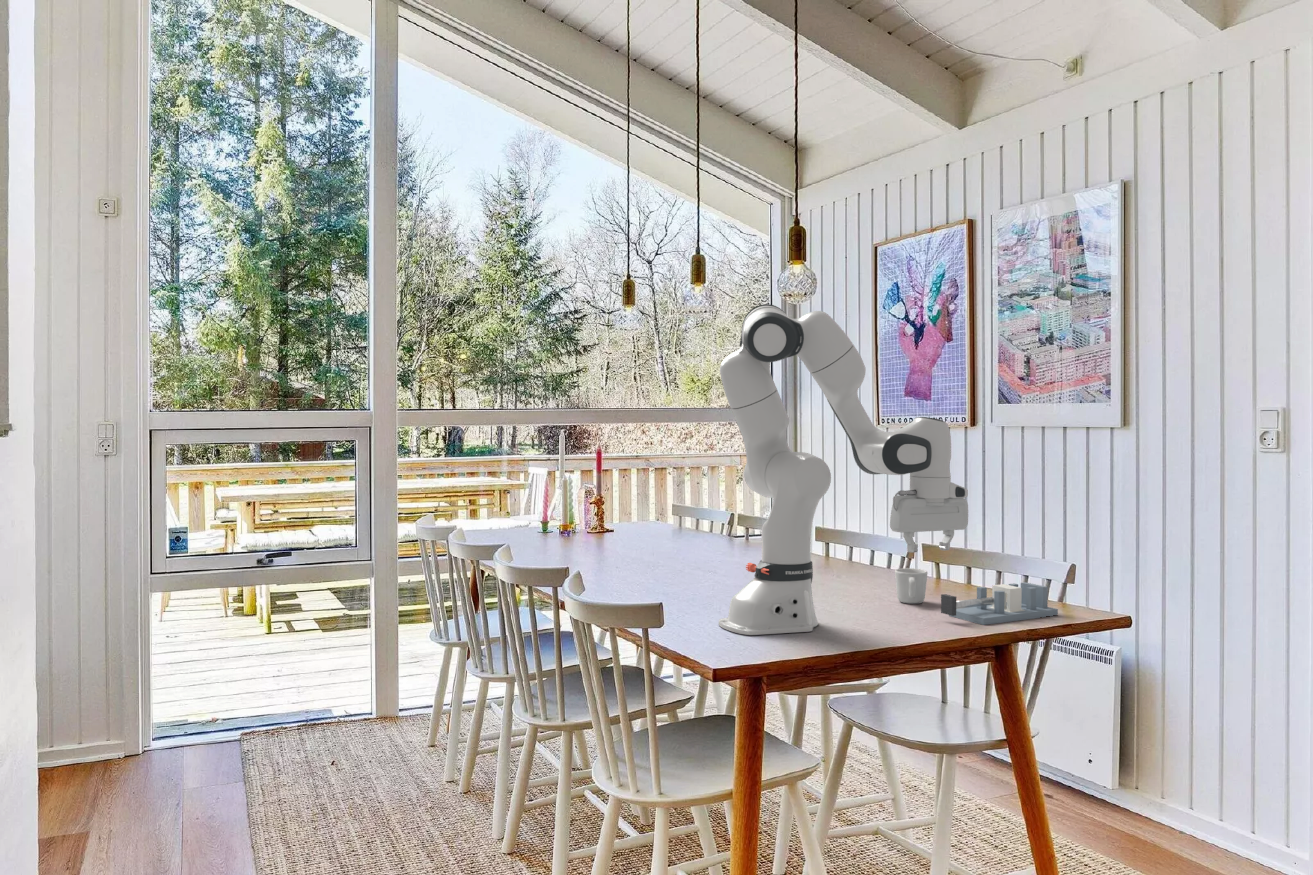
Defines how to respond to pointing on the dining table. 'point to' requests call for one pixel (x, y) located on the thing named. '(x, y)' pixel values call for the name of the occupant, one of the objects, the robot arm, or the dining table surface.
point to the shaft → (961, 603)
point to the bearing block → (1031, 607)
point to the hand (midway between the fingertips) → (928, 551)
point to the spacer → (1009, 596)
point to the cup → (911, 585)
